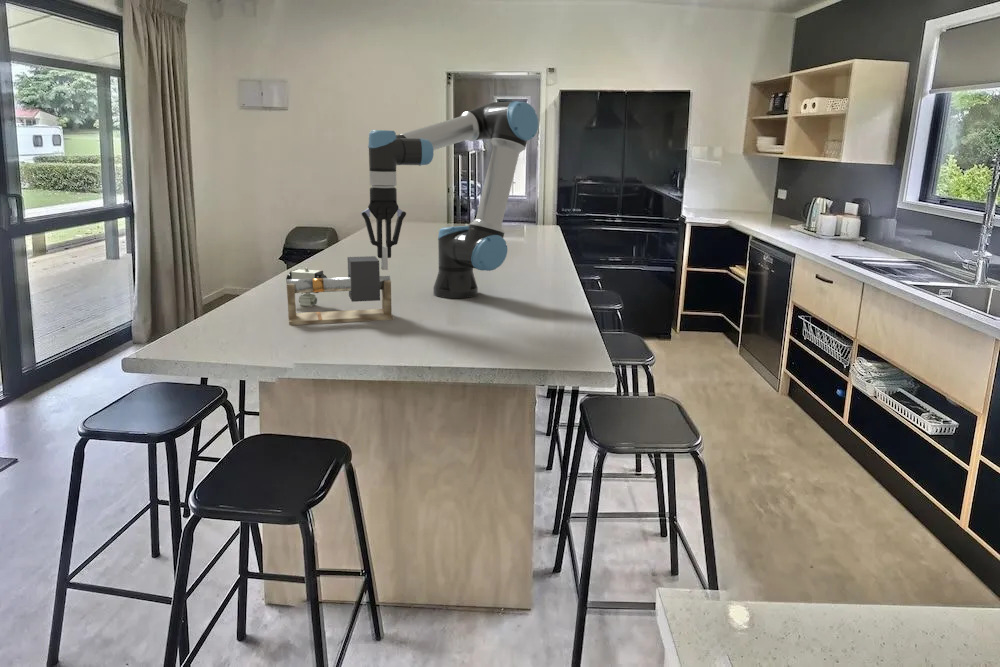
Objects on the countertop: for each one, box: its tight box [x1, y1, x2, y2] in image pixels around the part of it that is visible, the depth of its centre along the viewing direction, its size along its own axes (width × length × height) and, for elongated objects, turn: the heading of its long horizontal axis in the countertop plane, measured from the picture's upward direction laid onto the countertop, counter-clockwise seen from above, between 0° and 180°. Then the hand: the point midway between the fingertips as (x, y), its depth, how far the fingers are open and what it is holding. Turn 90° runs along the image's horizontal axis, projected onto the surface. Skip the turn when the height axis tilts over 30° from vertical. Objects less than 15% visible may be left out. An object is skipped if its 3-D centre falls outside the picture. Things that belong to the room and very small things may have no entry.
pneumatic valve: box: [285, 267, 328, 308], centre depth 222 cm, size 6×12×12 cm, turn 78°
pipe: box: [285, 275, 391, 294], centre depth 205 cm, size 29×4×4 cm, turn 107°
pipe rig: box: [286, 279, 394, 326], centre depth 207 cm, size 29×10×11 cm, turn 107°
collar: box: [347, 255, 381, 303], centre depth 207 cm, size 8×9×12 cm
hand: (384, 269), depth 208 cm, fingers closed
